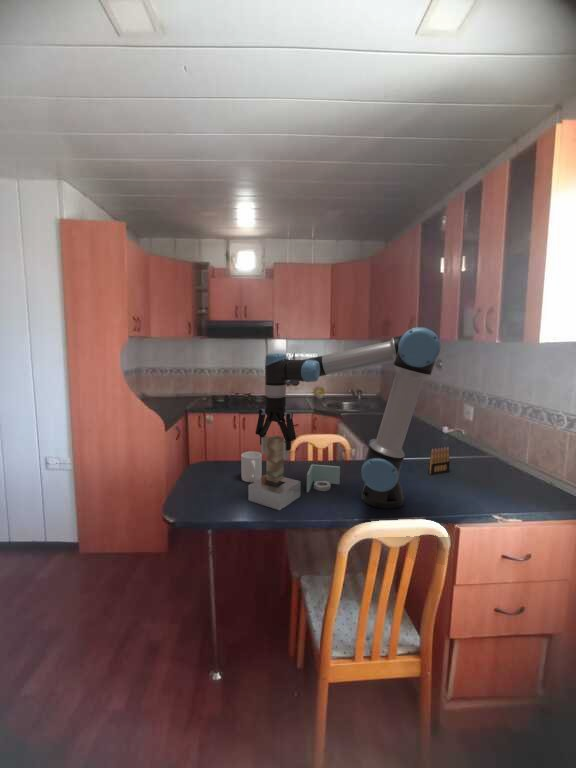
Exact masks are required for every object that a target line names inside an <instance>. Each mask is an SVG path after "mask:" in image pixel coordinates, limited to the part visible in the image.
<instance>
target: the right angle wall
mask: <svg viewBox="0 0 576 768" xmlns="http://www.w3.org/2000/svg"><path fill="white" fill-rule="evenodd" d="M340 477H341V466H337V465H325V464H314V463H313V464H311V465H310V467H309V469H308V471H307V472H306V493H309V492H310V490H311V488H313V489H314V490H316V491H319V492H327V491H330V490H331V484H334V485H340V484H341V483H340V480H341V479H340ZM313 482H314V483H313ZM312 485H313V487H312Z"/></svg>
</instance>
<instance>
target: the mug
mask: <svg viewBox="0 0 576 768" xmlns="http://www.w3.org/2000/svg"><path fill="white" fill-rule="evenodd" d="M262 456H263V455H262V454H261V452H260V451H245V452H243V453H241V456H240V457H241V459H240V462H241V466H240V468H241V475H240V476H241V480H242V481H243V482H246V483H253V482H255V481H257V480H259V479H261V476H263V474H262V473H263V472H262V469H263V468H262V463H263V461H262V460H263V459H262Z"/></svg>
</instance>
